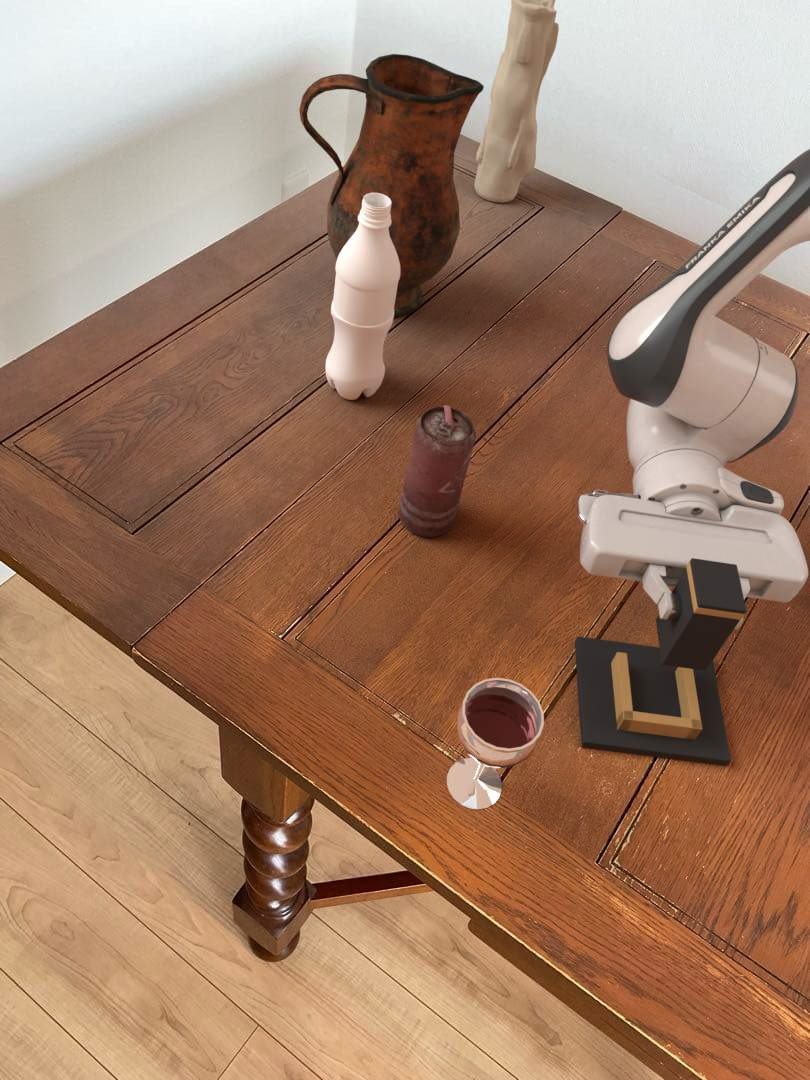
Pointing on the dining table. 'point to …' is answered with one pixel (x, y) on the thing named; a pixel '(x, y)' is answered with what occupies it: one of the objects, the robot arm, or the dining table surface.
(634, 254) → the dining table surface
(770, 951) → the dining table surface
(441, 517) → the can
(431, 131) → the pitcher
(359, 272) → the water bottle
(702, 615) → the upright block
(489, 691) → the wineglass
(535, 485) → the dining table surface
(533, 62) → the vase
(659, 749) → the base pad
